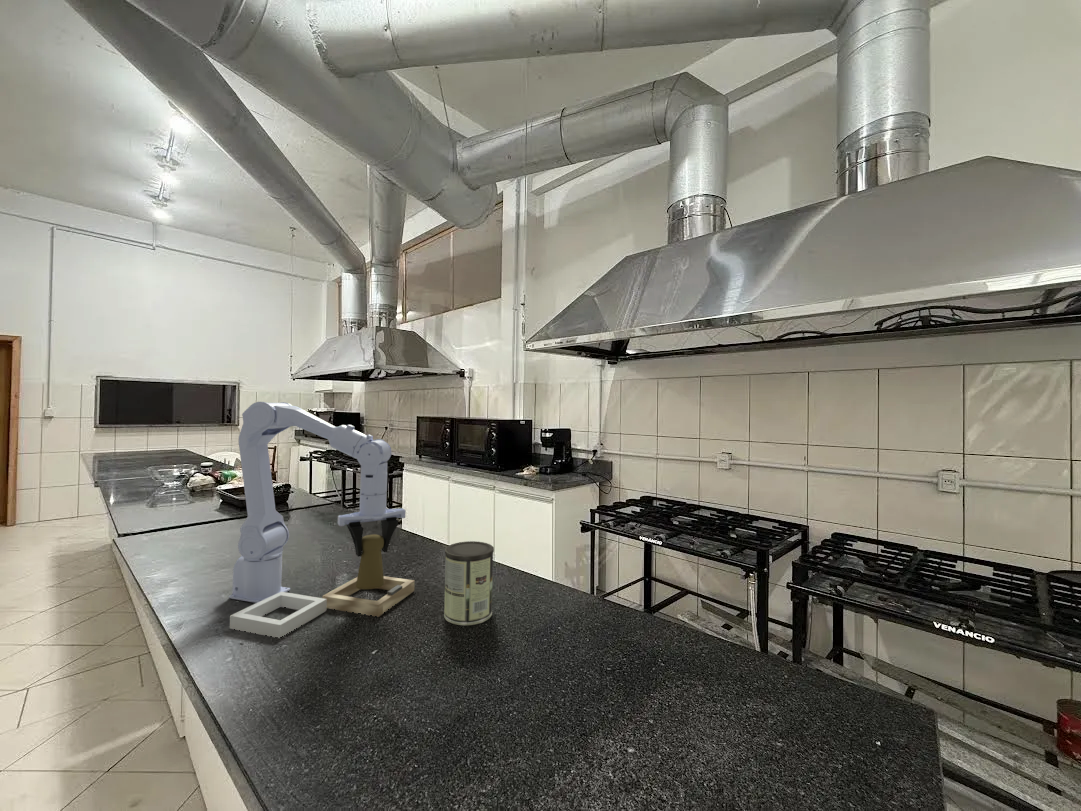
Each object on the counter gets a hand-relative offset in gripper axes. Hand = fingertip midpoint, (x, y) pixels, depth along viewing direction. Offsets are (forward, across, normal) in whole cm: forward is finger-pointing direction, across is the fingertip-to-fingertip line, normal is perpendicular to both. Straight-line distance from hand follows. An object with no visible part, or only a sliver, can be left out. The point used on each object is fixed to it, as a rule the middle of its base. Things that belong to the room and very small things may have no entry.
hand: (371, 553), depth 101 cm
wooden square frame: (+10, 0, 0) cm, 10 cm away
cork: (+7, 0, 0) cm, 7 cm away
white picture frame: (+10, -18, 0) cm, 21 cm away
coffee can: (+11, +15, -19) cm, 26 cm away
